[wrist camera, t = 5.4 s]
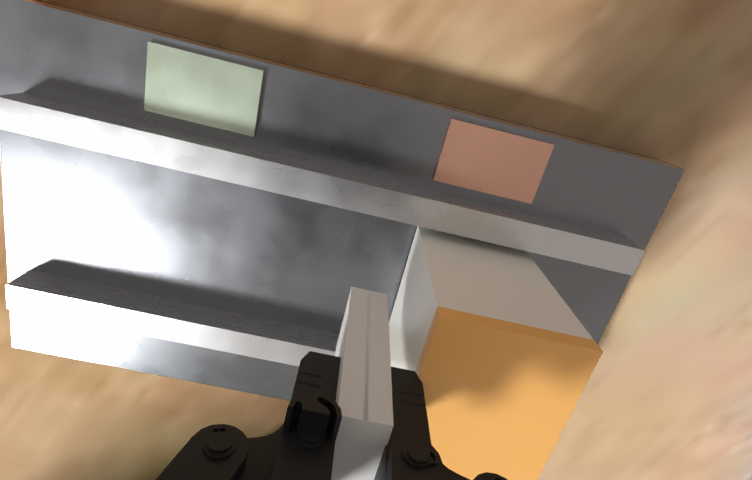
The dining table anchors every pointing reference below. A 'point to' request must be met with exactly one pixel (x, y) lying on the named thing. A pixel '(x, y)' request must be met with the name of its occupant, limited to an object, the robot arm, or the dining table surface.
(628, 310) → the dining table surface
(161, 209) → the switch panel
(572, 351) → the knob
